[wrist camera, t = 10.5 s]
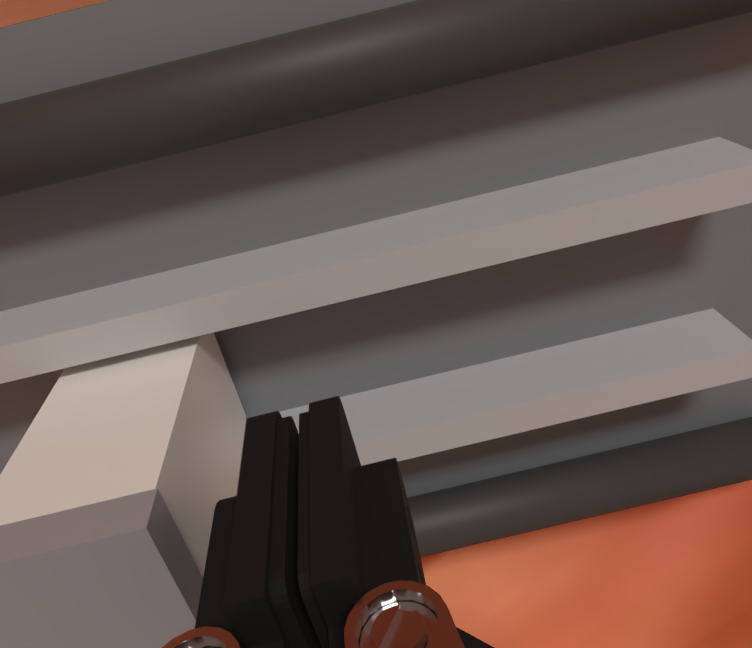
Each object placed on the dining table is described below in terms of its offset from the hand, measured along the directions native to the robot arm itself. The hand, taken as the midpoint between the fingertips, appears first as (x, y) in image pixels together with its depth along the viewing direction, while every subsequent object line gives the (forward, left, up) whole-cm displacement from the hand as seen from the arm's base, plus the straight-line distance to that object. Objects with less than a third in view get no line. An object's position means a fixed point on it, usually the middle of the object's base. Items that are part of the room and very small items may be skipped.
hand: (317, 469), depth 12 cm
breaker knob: (+4, 0, -4) cm, 6 cm away
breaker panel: (-1, 0, -7) cm, 7 cm away
